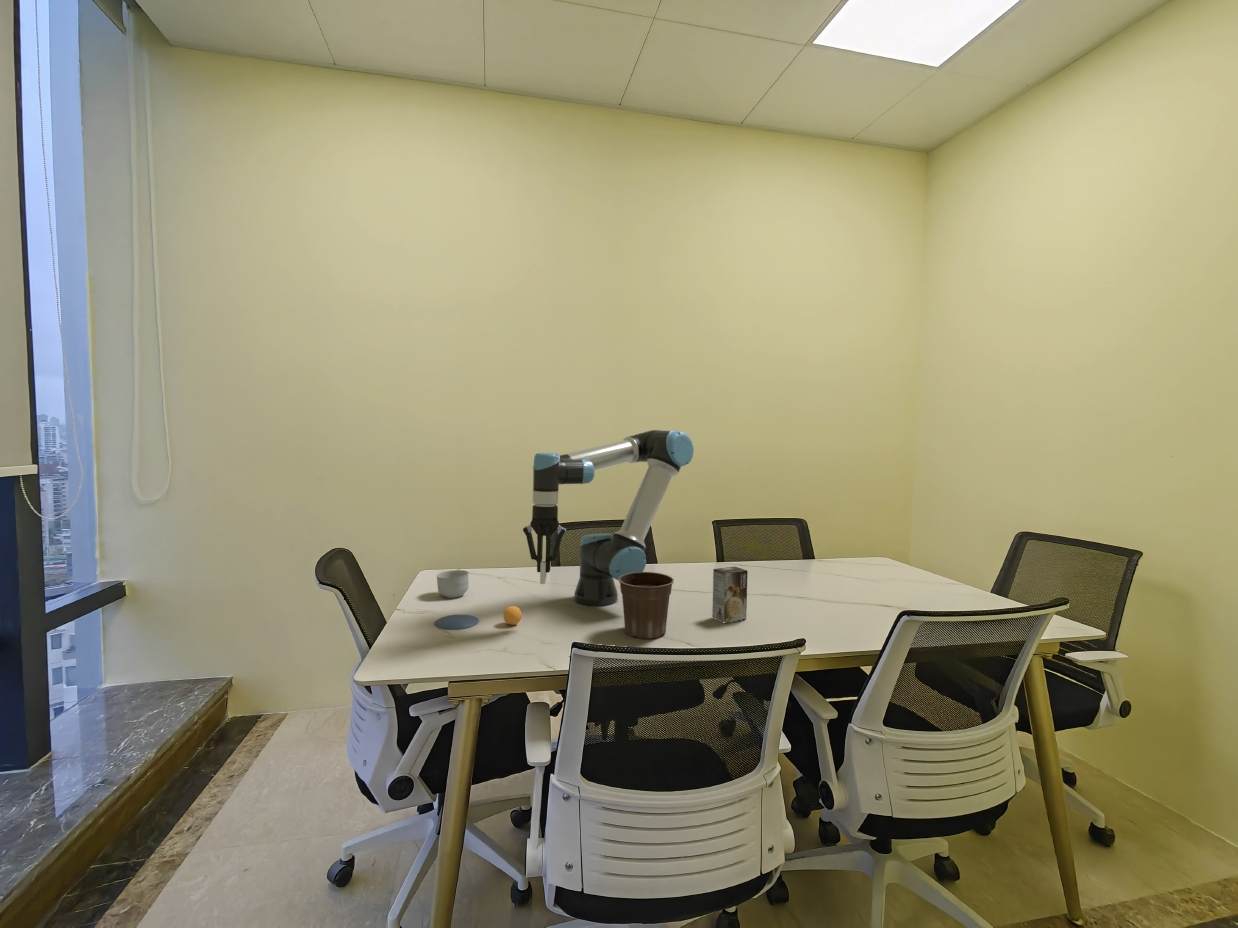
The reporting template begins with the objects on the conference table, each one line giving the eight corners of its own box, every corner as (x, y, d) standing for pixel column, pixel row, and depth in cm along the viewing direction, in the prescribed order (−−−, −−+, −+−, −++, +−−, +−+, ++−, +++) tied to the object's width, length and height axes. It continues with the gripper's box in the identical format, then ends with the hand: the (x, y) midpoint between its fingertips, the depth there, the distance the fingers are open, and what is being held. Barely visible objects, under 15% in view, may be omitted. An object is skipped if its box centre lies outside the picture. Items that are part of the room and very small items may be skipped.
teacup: (459, 601, 196) (459, 578, 195) (430, 598, 198) (430, 575, 197) (477, 590, 209) (477, 568, 209) (450, 587, 212) (450, 566, 211)
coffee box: (734, 613, 190) (735, 565, 188) (746, 619, 184) (748, 570, 183) (711, 617, 185) (713, 568, 184) (723, 623, 180) (725, 573, 179)
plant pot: (631, 645, 160) (632, 588, 159) (608, 626, 175) (610, 574, 174) (682, 638, 167) (683, 583, 166) (656, 620, 181) (658, 569, 180)
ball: (523, 621, 177) (523, 604, 177) (519, 627, 172) (519, 609, 171) (505, 620, 177) (505, 603, 177) (501, 627, 172) (501, 609, 172)
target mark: (484, 615, 181) (484, 615, 181) (471, 630, 169) (471, 629, 168) (443, 614, 182) (443, 613, 182) (427, 628, 169) (427, 628, 169)
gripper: (568, 504, 175) (566, 580, 177) (526, 502, 176) (524, 578, 177) (565, 507, 168) (563, 587, 169) (520, 505, 168) (519, 585, 170)
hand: (543, 582), depth 173 cm, fingers closed
